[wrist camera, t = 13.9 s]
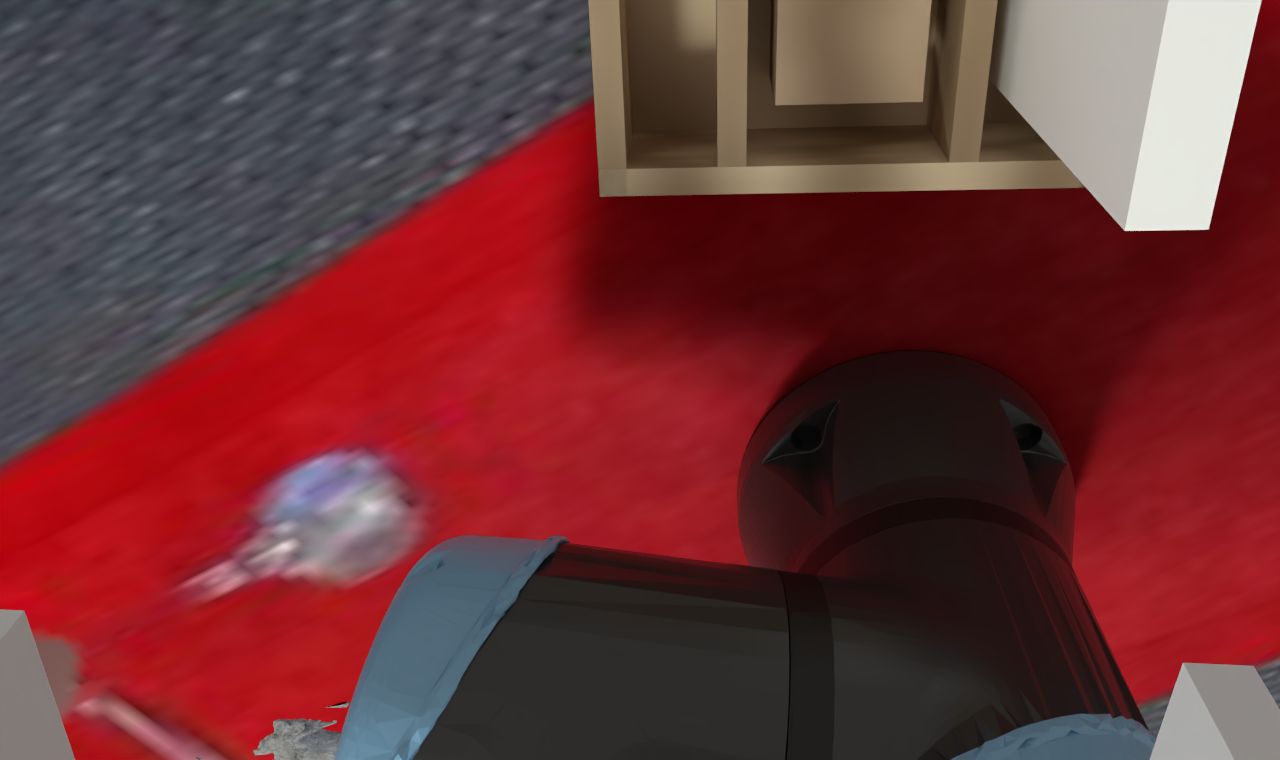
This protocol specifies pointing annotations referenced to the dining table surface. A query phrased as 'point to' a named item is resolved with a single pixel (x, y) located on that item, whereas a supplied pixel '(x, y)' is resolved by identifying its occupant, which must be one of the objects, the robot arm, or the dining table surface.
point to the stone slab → (300, 740)
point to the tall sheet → (1130, 96)
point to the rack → (795, 111)
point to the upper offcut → (849, 51)
